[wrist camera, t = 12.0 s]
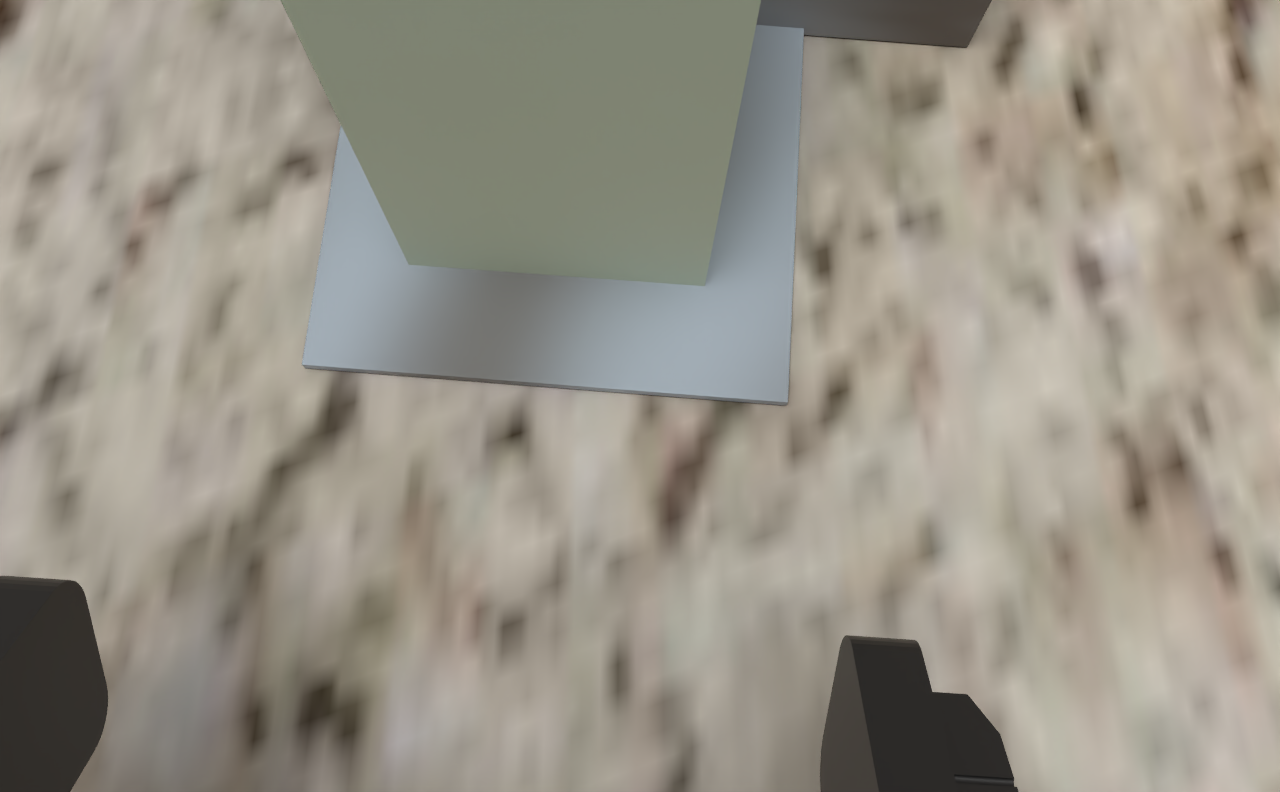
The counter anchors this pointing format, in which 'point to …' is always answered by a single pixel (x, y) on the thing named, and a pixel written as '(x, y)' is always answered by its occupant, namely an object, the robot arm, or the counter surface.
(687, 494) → the counter surface
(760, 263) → the dock
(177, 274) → the counter surface
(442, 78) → the green block
